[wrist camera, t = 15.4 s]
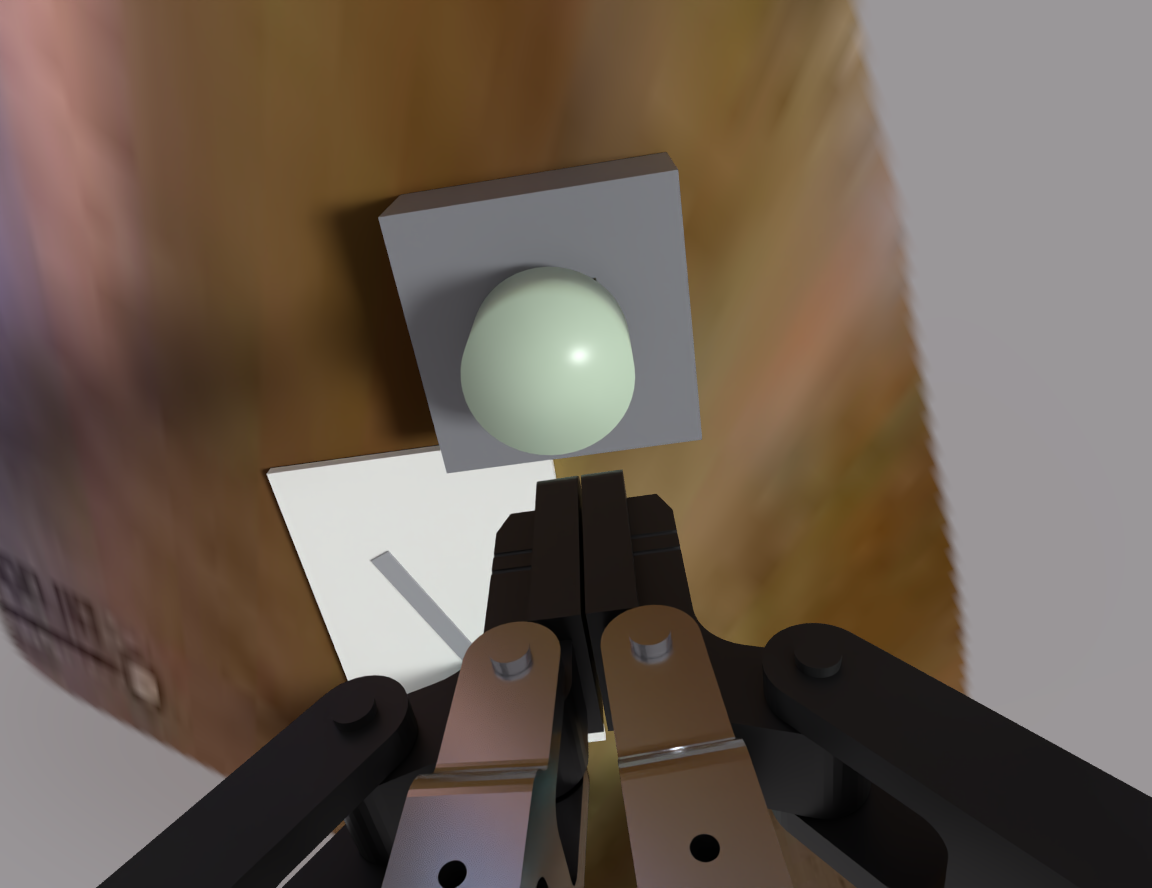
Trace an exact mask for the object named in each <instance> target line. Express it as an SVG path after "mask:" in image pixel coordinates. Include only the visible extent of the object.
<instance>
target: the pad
mask: <svg viewBox="0 0 1152 888" xmlns="http://www.w3.org/2000/svg"><path fill="white" fill-rule="evenodd" d="M267 476H268V479H269V481H270V484H271V487H272V489H273V492H274V494H275V497H276V499H277V502H278V504H279V507H280V509H281V512H282V514H283V517H284V520H285V522H286V525H287V527H288V530H289V532H290V535H291V537H292V540H293V542H294V545H295V548H296V550H297V553H298V555H299V558H300V560H301V563H302V565H303V568H304V570H305V573H306V575H307V578H308V581H309V583H310V586H311V588H312V591H313V593H314V596H315V598H316V601H317V603H318V606H319V608H320V611H321V614H322V616H323V619H324V621H325V624H326V626H327V629H328V631H329V634H330V636H331V639H332V642H333V644H334V647H335V649H336V652H337V654H338V657H339V659H340V662H341V664H342V667H343V669H344V672H345V675H346V677H347V680H348V681H349V680H352V679H355V678H358V677H363V676H370V675H380V676H386V677H390V678H392V679H394V680H396V681H397V682H399V683H400V684H401V685H402V686H403V687H404V689H405V691H406V693H407V694H408V693H411V692H414V691H416V690H419V689H421V688H424V687H427V686H429V685H432V684H434V683H437V682H439V681H442V680H444V679H446V678H448V677H450V676H451V675H453V674H455V673H456V672H458V671H459V670H460V669H461V665H462V661H463V658H464V655H465V653H466V651H467V649H468V648H469V646H470V645H471V644H472V643H473V642H474V641H475V640H476V639H477V638H478V637H479V636H480V635H482V634H483V633H484V625H485V617H486V610H487V602H488V594H489V586H490V578H491V575H492V563H493V558H494V547H495V540H496V533H497V532H498V530H499V529H500V527H501V526H502V525H503V523H504V522H505V521H506V519H507V518H508V516H509V515H510V514H512V513H520V512H527V511H534V510H535V499H536V484H537V481H544V480H551V479H556V474H555V469H554V464H553V459H552V460H544V461H537V462H529V463H522V464H514V465H507V466H499V467H492V468H484V469H477V470H469V471H462V472H454V473H447V472H446V468H445V465H444V461H443V457H442V453H441V450H440V446H439V445H438V446H430V447H423V448H416V449H408V450H401V451H394V452H386V453H379V454H372V455H364V456H357V457H350V458H342V459H335V460H328V461H320V462H313V463H306V464H298V465H291V466H284V467H276V468H270V470H269V471H268V473H267ZM603 740H606V734H605V728H604V732H599V733H590V734H588V742H593V741H603Z"/></svg>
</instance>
